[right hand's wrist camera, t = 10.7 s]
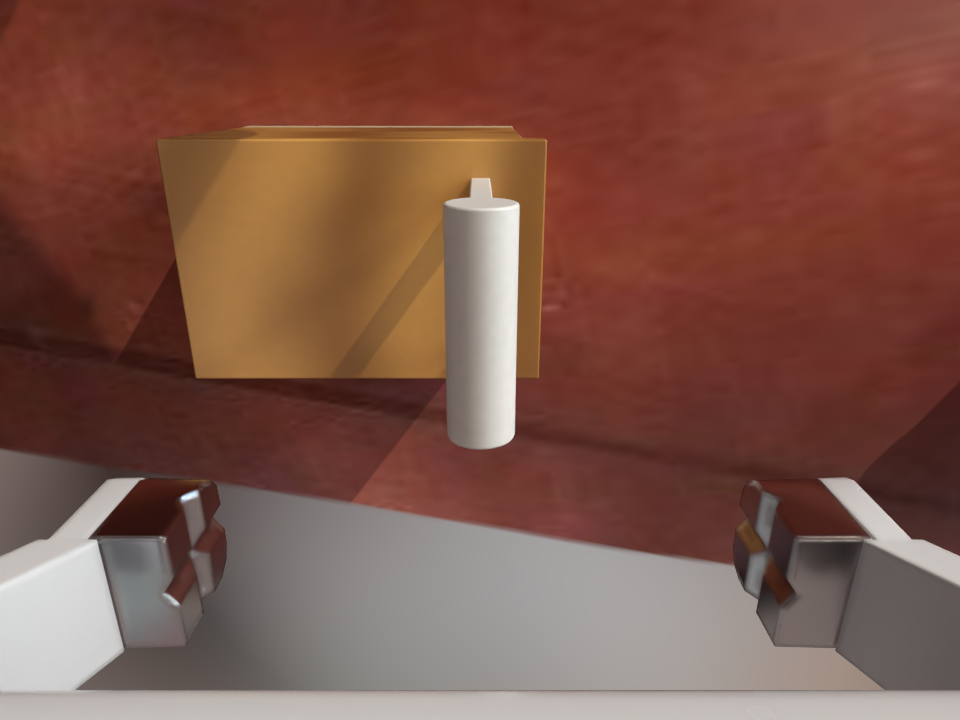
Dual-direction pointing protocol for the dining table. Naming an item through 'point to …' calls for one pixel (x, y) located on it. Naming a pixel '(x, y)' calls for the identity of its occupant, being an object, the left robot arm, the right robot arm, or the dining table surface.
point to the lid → (365, 263)
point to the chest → (362, 132)
